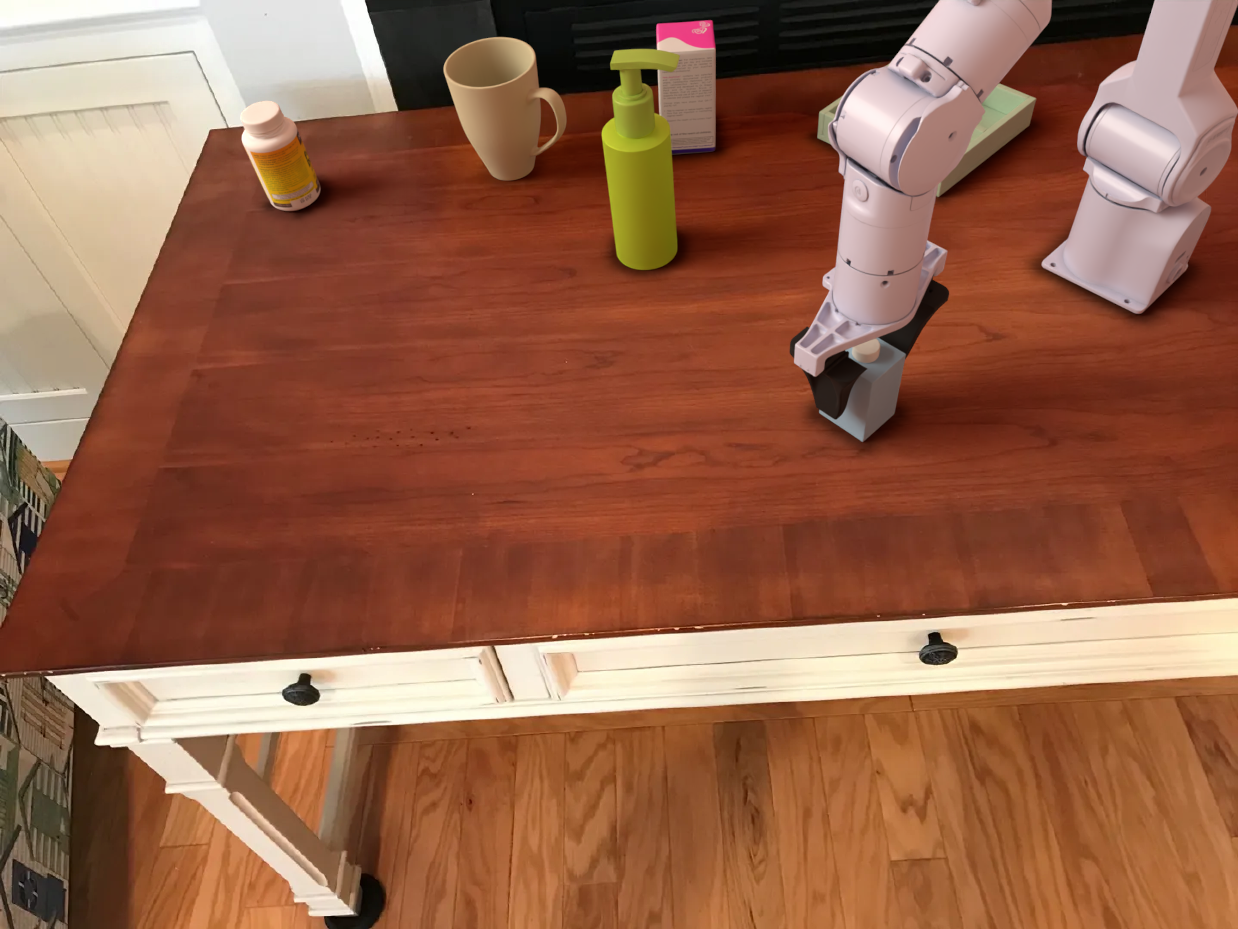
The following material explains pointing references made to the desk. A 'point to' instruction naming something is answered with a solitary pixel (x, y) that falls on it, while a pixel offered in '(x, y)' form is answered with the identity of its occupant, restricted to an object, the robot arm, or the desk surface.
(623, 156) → the soap dispenser
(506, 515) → the desk surface
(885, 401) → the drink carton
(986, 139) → the tray
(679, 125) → the supplement box
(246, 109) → the supplement bottle
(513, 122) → the mug
